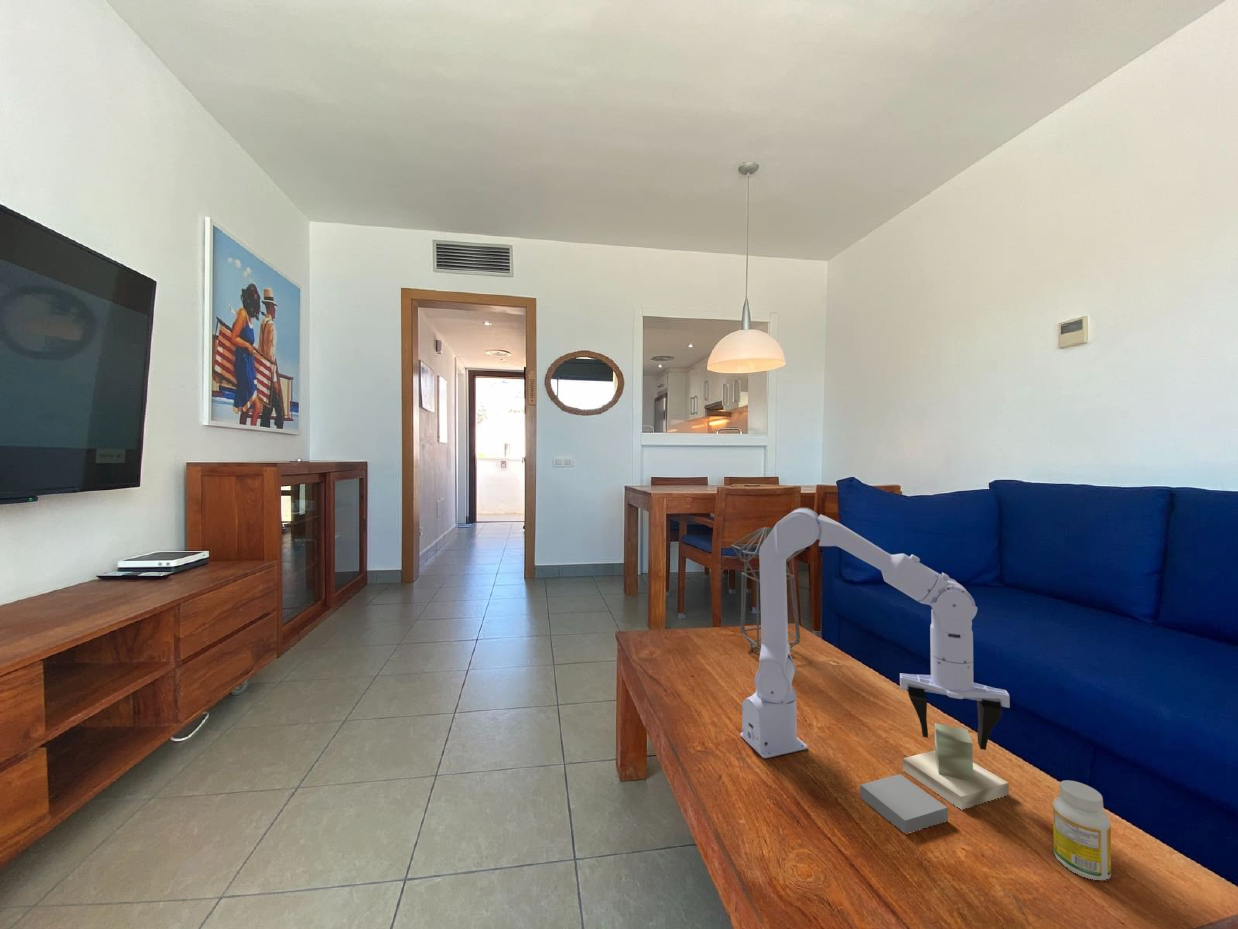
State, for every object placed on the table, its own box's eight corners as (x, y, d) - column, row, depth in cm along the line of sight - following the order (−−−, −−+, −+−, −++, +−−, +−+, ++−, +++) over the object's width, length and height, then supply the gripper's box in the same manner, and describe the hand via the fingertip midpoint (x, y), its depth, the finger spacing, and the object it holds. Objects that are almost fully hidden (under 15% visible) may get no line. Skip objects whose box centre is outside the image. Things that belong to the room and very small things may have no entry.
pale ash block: (961, 810, 71) (961, 797, 71) (903, 770, 81) (902, 758, 81) (1008, 795, 74) (1008, 782, 74) (947, 758, 84) (946, 747, 84)
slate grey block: (905, 835, 67) (905, 820, 67) (860, 797, 74) (860, 784, 74) (947, 821, 69) (947, 807, 69) (900, 786, 77) (900, 774, 77)
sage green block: (938, 774, 77) (938, 736, 77) (935, 758, 81) (934, 723, 81) (973, 782, 75) (972, 743, 75) (967, 766, 79) (967, 729, 79)
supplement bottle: (1085, 885, 59) (1083, 806, 59) (1042, 850, 64) (1041, 778, 64) (1124, 881, 59) (1122, 803, 59) (1078, 846, 64) (1077, 775, 64)
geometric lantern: (812, 660, 127) (808, 529, 127) (759, 668, 123) (755, 533, 123) (777, 639, 143) (774, 521, 142) (730, 646, 138) (726, 525, 138)
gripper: (901, 657, 78) (902, 741, 78) (1014, 674, 71) (1016, 766, 71) (898, 643, 84) (899, 720, 84) (1002, 657, 77) (1003, 742, 77)
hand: (952, 740), depth 78 cm, fingers open, 7 cm apart
